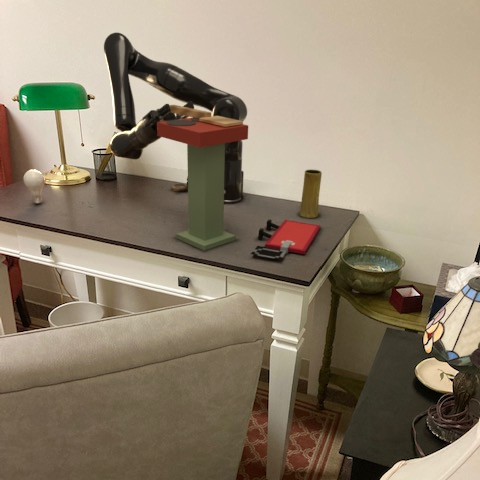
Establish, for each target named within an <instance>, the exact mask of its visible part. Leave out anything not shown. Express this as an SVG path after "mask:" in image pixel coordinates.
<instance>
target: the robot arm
mask: <svg viewBox="0 0 480 480" xmlns="http://www.w3.org/2000/svg"><path fill="white" fill-rule="evenodd" d="M103 53H104V56H105V60H106V65H107V70H108V74H109V80H110V81H109V82H110V87H111V97H112V108H113V110H112V112H113V122H114V127H115V128H116V129H117V130H118V131H120V132H118V133H116V134H115V135H114V136H113V137H112V138H111V140H110V143H109V149H110V152H111V153H112V154H113V156H114V157H117V158H122V159H127V160H128V159H129V160H139V159H140V158H141V157H142V156H143V153H144V149H146V148H147V147H149V146H150V145H151V144H154V143H156V142H158V141H159V140H160V139H162V137H160V136H157V122H162V121H170V120H178V119H186V118H190V117H189V116H184V115H180V114H175V113H171V112H170V111H171V109H170V106H169V105H170V104H169V103H165V104H164V105H163V106H161V107H160V108H156V109H151V110H149V111H148V112H147V113H146V114H145V115H144V116H143V117H142V119H139V121H138V122H137V120H136V119H137V117H136V105H135V98H134V95H133V91H132V87H131V82H130V76H131V77H134V78H136V79H138V80H141V81H143V82H145V83H146V84H148V85H150V86H151V87H152V88H154V89H156V90H158V91H159V92H161V93H163V94H165V95H167V96H168V97H170V98H172V99H174V100H176V101H179V102H182V103H185V104H184V105H182V106H183V107H187V108H192V109H195V106H196V107H200V108H203V109H206V110H208V112H211V116H221V117H225V118H230V119H235V120H240V121H243V122H244V121H245V120H246V119H247V116H248V107H247V104H246V103H245V101H244V100H243V99H242V98H241V97H239V96H238V95H235V94H232V93H230V92H227V91H224V90H221V89H219V88H217V87H214V86H212V85H211V84H209V83H207V82H206V81H204V80H202V79H201V78H199V77H197V76H195V75H194V74H192V73H190V72H188V71H186V70H184V69H183V68H181V67H179V66H177V65H175V64H173V63H169V62H164V61H156V60H153V59H151V58H149V57H147V56H145V55H144V54H142V53H141V52H139V51H138V50H137V49H136V48H135V47H134V46H133V44H132V42H131V40H129V38H128V37H127V36H126V35H125V34H123V33H121V32H113V33H110V34H109V35H108V36H107V37H106V38H105V40H104V43H103ZM243 145H244V144H243V140H240V141H234V142H229V143H225V165H224V204H233V203H238V202H240V201H242V199H243V198H244V197H243V196H244V170H243V147H244V146H243Z"/></svg>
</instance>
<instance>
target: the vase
mask: <svg viewBox="0 0 480 480" xmlns="http://www.w3.org/2000/svg"><path fill="white" fill-rule="evenodd" d="M322 173H323V172H322V171H321V170H319V169H306V170H304V177H303V185H302V194H301V195H302V196H301V201H300V209H299V214H298V215H299V216H300V217H302V218H306V219H315V218H318V216H319V205H320V204H319V203H320V191H321V183H322Z"/></svg>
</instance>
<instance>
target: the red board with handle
mask: <svg viewBox="0 0 480 480" xmlns="http://www.w3.org/2000/svg"><path fill="white" fill-rule="evenodd" d="M272 221H273V220H272V219H267V220H266V226H265V228H263V227H261V228H259V229H258V236H257V239H258V240H259V241H261V240H263V238H264V237H265V238H267V239H268V240H267V241H266V242H265V245H264V246H262V245H257V246H256V247H255V248H254V249H253V250H252V252H250V255H254V256H258V257H263V258H269V259H276V260H282V259H283V258H284V257H285V255H287V254H289V252H290V253H294V254H295V253H296V254H300V255H306V253H307V251H308V249H309V248H310V246H311V244H312V243H313V242H314V240H315V238H316V236H317V234H318V233H319V231H320V230H321V224H320V225H319V224H313V223H307V222H302V221H296V220H290V219H289V220H288V219H284V220H283V222H282V223H281V224H280V225H278V224H276V223H273V222H272ZM272 228H273V229H275V231H274V232H273V234H270V233H269V232H266V231H270V230H271V229H272ZM265 230H266V231H265Z"/></svg>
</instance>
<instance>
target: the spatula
mask: <svg viewBox="0 0 480 480" xmlns="http://www.w3.org/2000/svg"><path fill="white" fill-rule="evenodd" d="M169 106H170V109H171V111H170V112H171V113H175V115H176V114H180V115H184V116H189V117H188V118H198V119H199V121H201V122H206V123H210V124H215V125H219V126H223V127H228V126H235V125H242V124H244V121H240V120H235V119H230V118H225V117H221V116H212V112H211V111H206V110H202V109H197V108H194V109H192V108H187V107H183V106H184V105H178V104H169Z"/></svg>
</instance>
